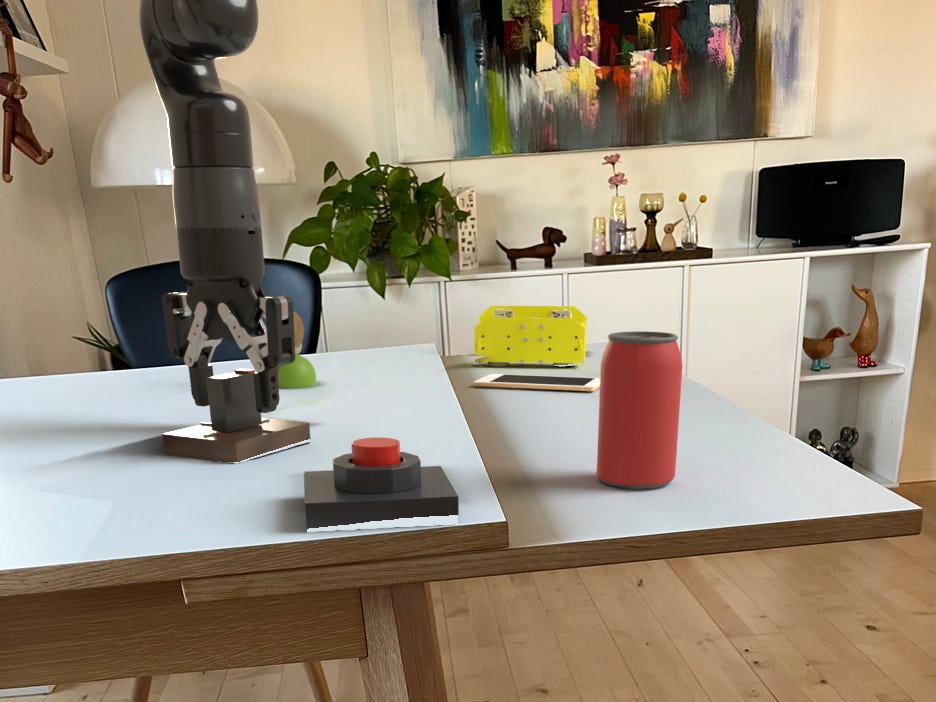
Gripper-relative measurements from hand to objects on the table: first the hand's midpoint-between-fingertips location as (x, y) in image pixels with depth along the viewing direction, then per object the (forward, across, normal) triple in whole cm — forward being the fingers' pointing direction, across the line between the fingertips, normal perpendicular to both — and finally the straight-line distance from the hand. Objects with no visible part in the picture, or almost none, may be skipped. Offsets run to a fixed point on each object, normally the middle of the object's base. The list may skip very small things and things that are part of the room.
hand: (236, 408), depth 100 cm
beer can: (+4, +39, +5) cm, 40 cm away
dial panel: (+4, 0, 0) cm, 4 cm away
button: (0, +25, -13) cm, 28 cm away
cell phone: (+4, +9, +49) cm, 50 cm away
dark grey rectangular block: (+2, 0, 0) cm, 2 cm away
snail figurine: (+4, -13, +25) cm, 28 cm away
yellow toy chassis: (+4, -1, +66) cm, 66 cm away
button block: (+4, +25, -13) cm, 28 cm away
